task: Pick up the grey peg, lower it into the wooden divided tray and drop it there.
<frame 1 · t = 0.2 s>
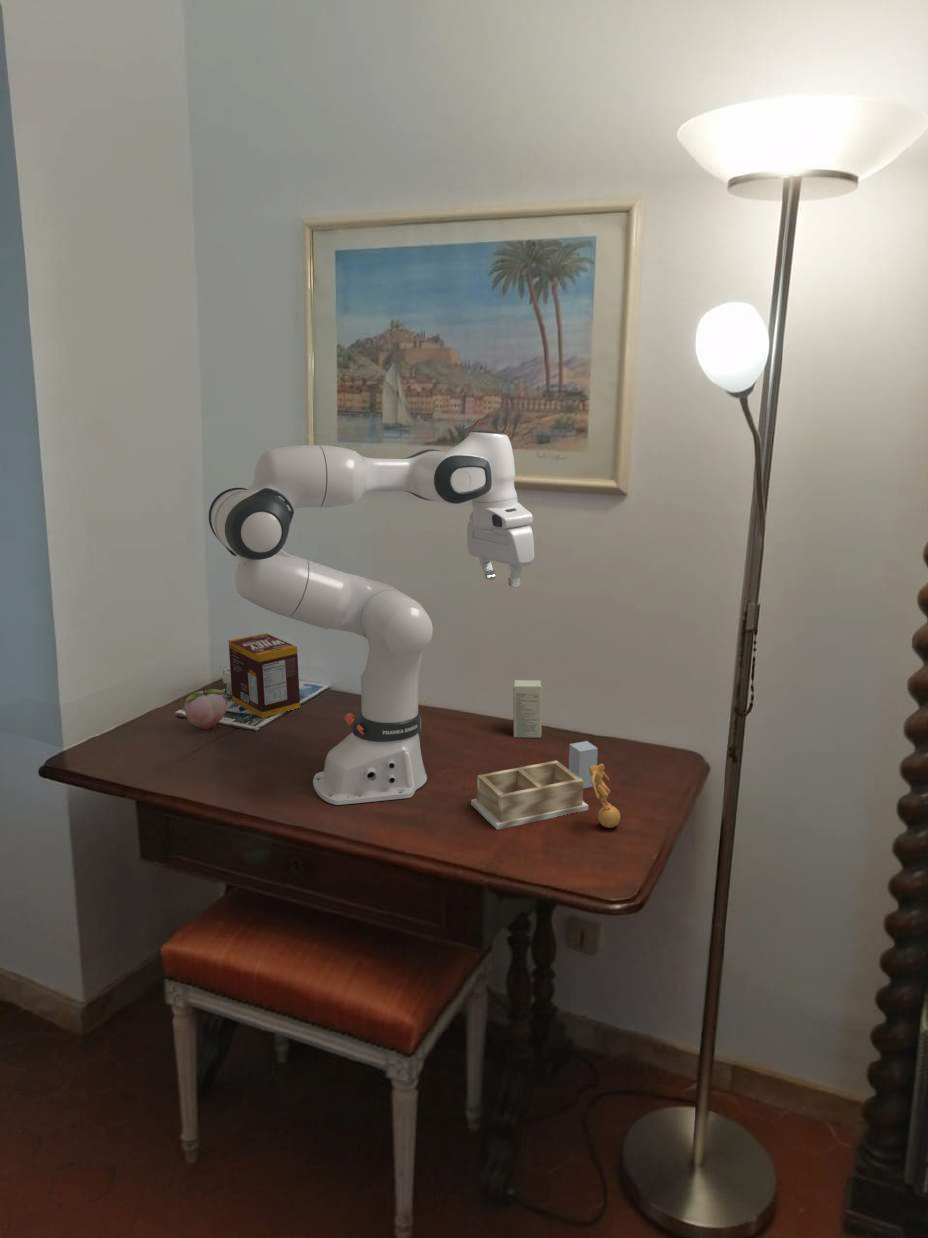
hand: (502, 582, 193), 38 cm above the table, tool pointing down, fingers open, 8 cm apart
figurine: (603, 826, 176), on the table
grey peg: (582, 783, 193), on the table
wooden divided tray: (529, 807, 183), on the table
decorative fruit: (205, 729, 220), on the table
supplement box: (265, 705, 235), on the table
skincare box: (527, 735, 218), on the table
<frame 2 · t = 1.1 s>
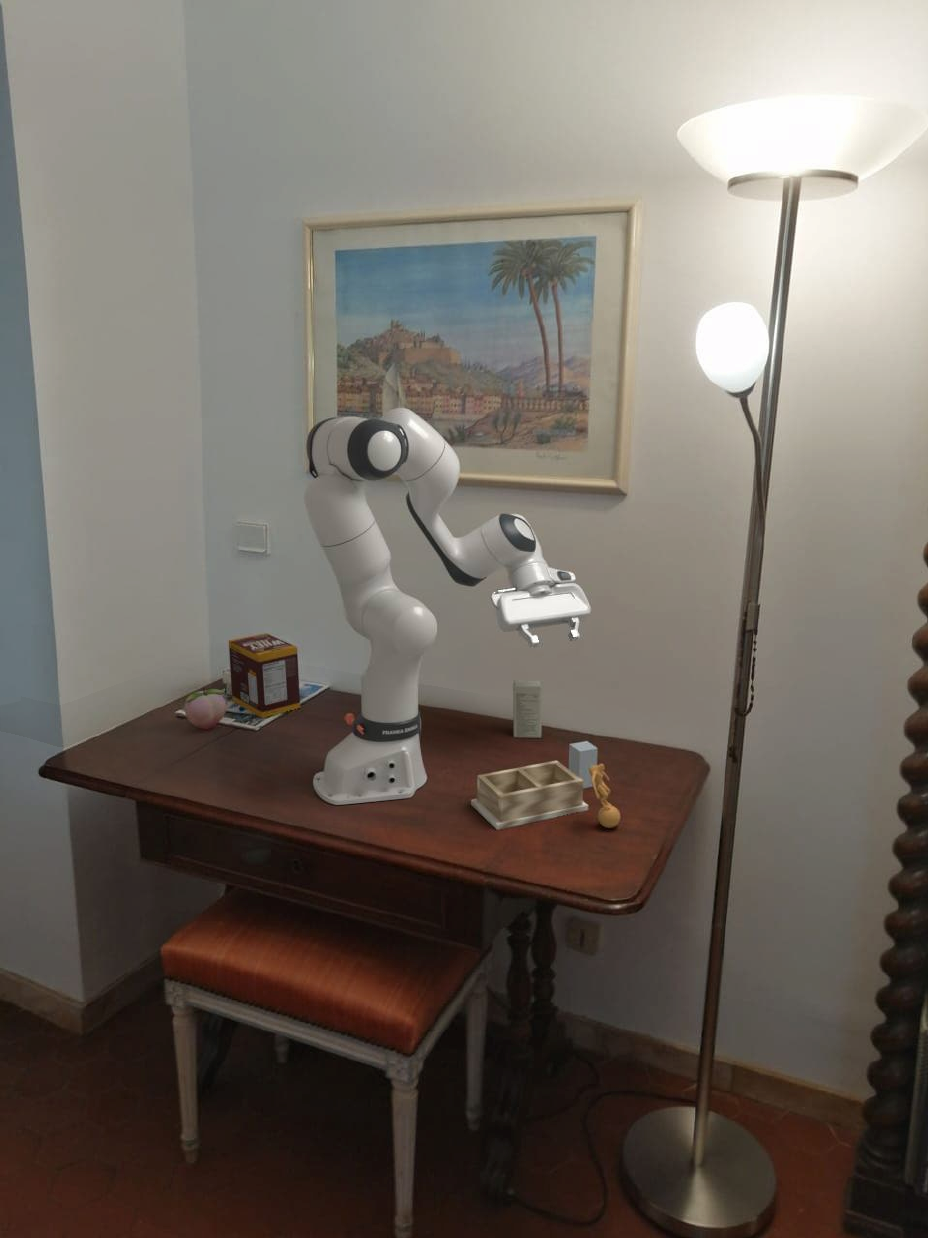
hand: (555, 642, 197), 26 cm above the table, tool tilted 45°, fingers open, 8 cm apart
nothing on the table moved.
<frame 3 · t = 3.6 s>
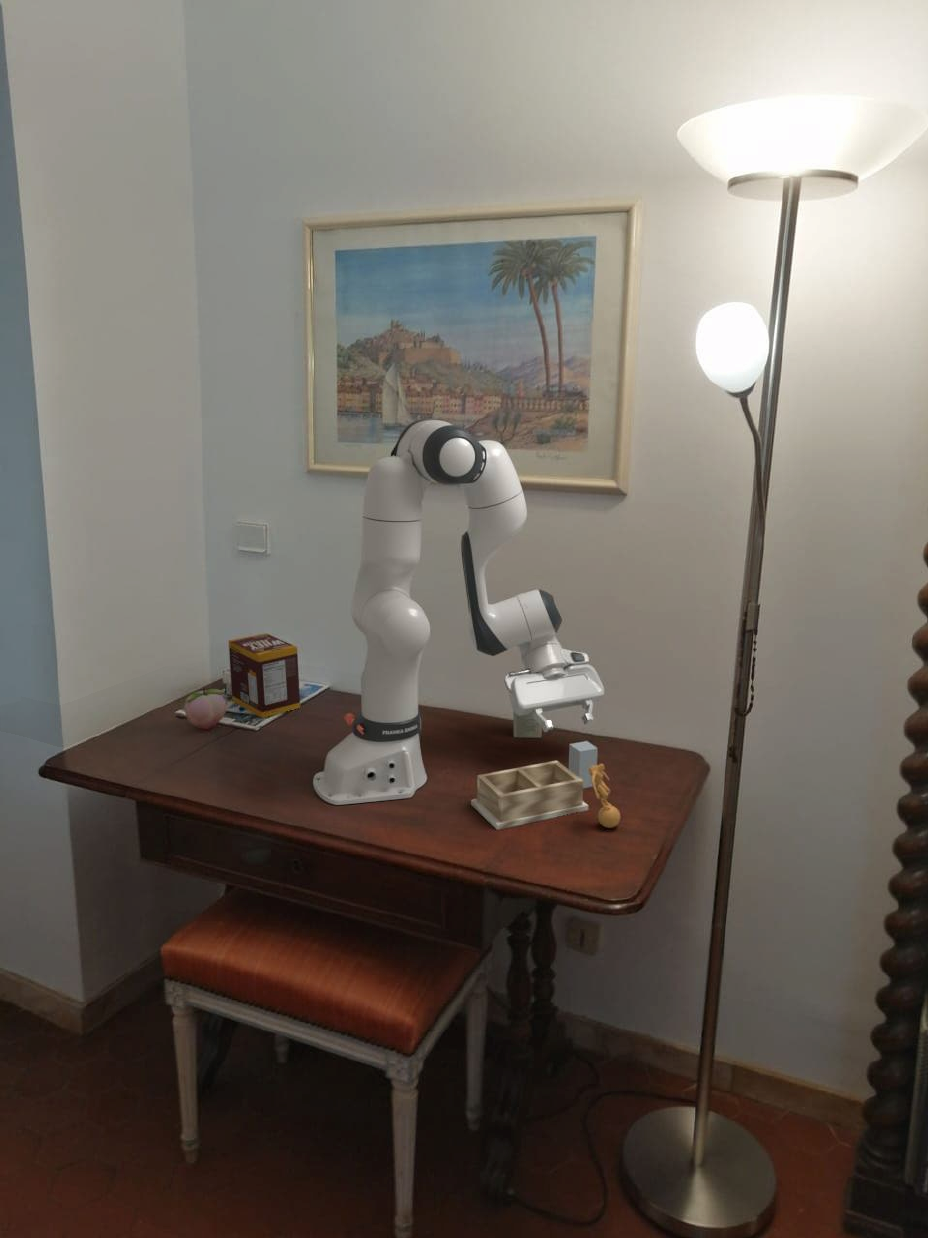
hand: (569, 726, 196), 10 cm above the table, tool tilted 45°, fingers open, 8 cm apart
nothing on the table moved.
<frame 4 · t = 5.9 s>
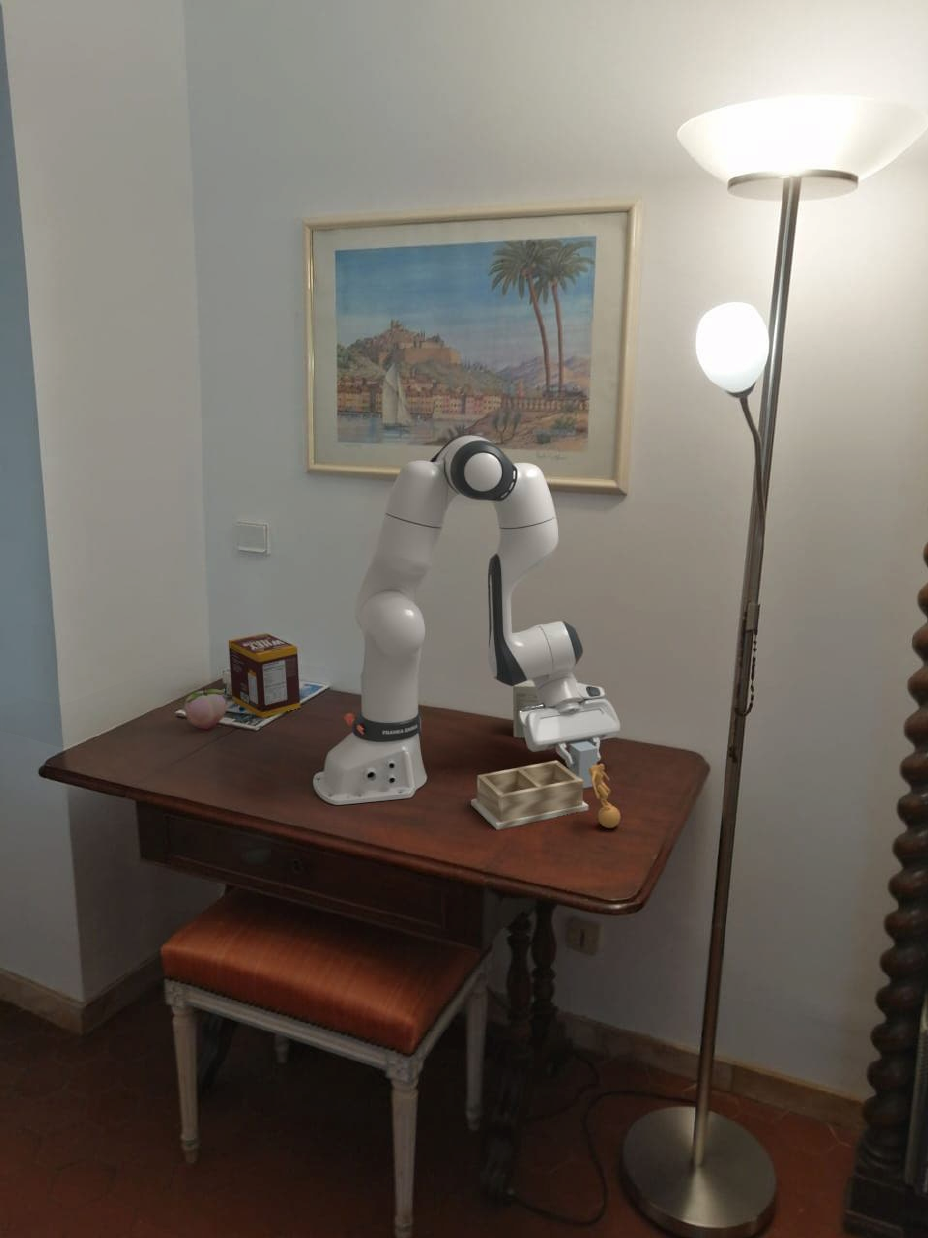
hand: (584, 763, 191), 5 cm above the table, tool tilted 45°, fingers closed on grey peg, 4 cm apart
grey peg: (582, 783, 193), on the table, touching gripper
everything else where it was.
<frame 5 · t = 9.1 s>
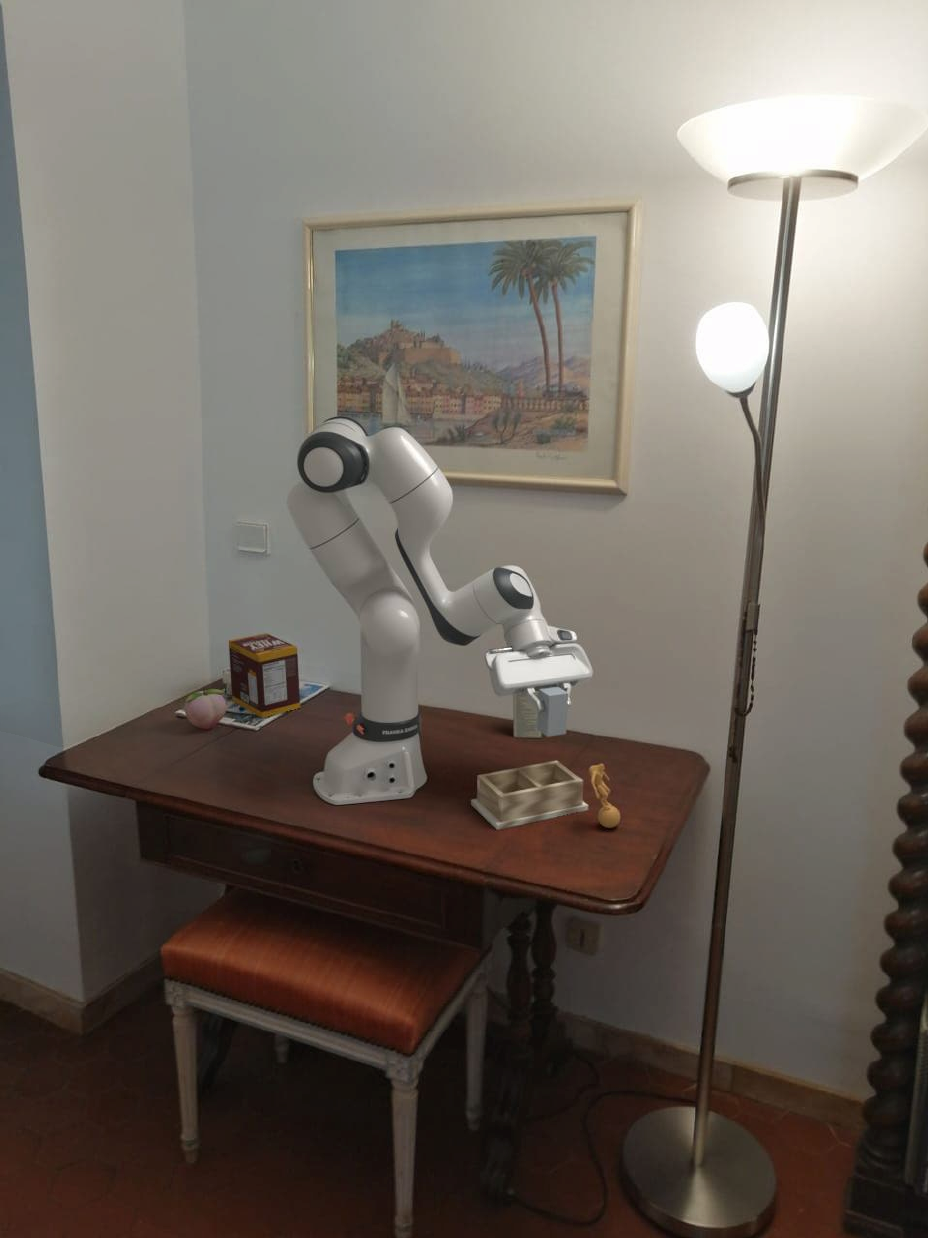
hand: (554, 709, 180), 19 cm above the table, tool tilted 45°, fingers closed on grey peg, 4 cm apart
grey peg: (551, 731, 182), point 14 cm above the table, touching gripper
everything else where it was.
when the fingers open (9 cm above the table, at t = 12.6 s): grey peg drops 3 cm, resting on wooden divided tray.
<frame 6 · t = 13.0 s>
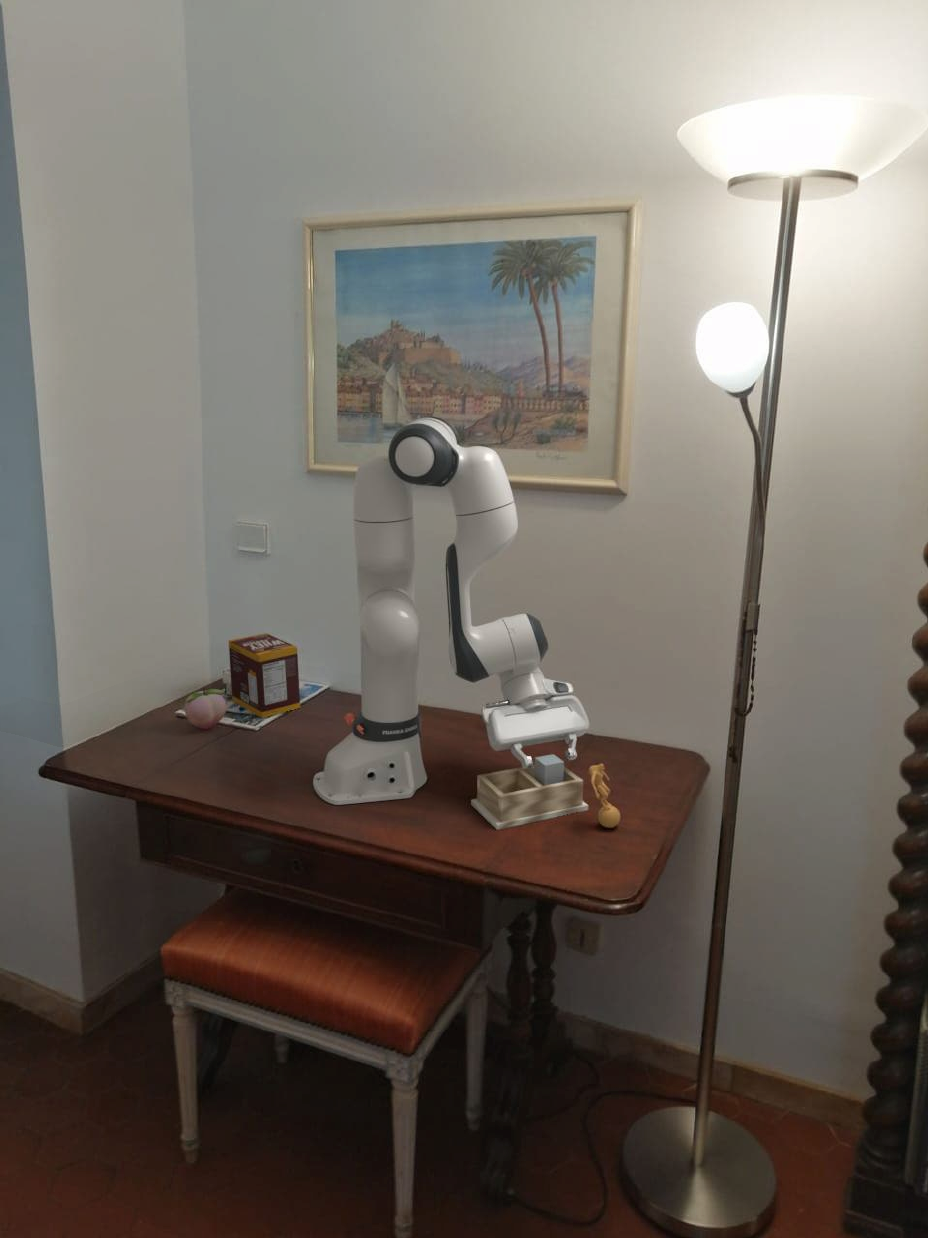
hand: (550, 763, 182), 9 cm above the table, tool tilted 45°, fingers open, 8 cm apart
grey peg: (548, 798, 184), point 1 cm above the table, touching wooden divided tray
everything else where it was.
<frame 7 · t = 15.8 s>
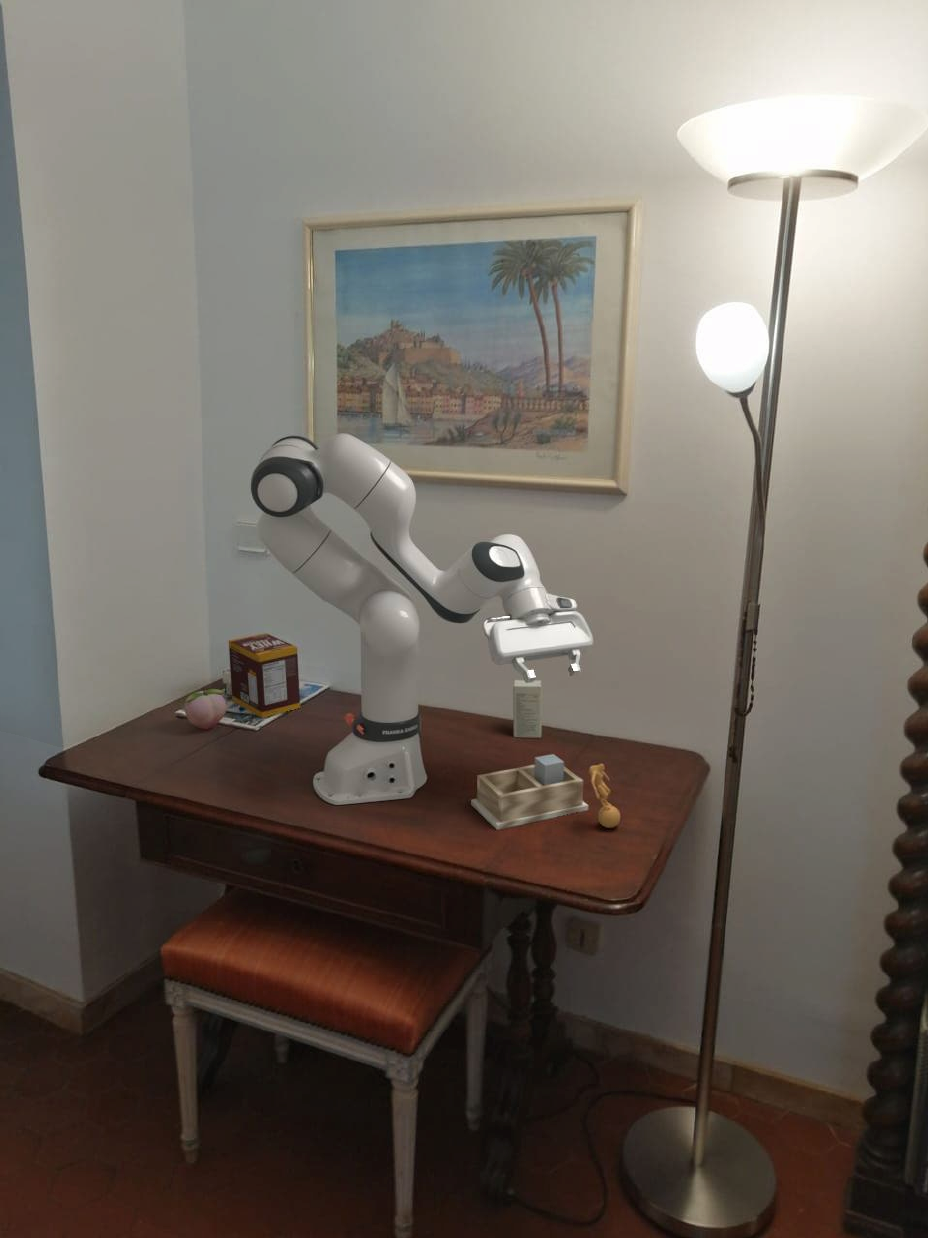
hand: (553, 677, 177), 25 cm above the table, tool tilted 45°, fingers open, 8 cm apart
nothing on the table moved.
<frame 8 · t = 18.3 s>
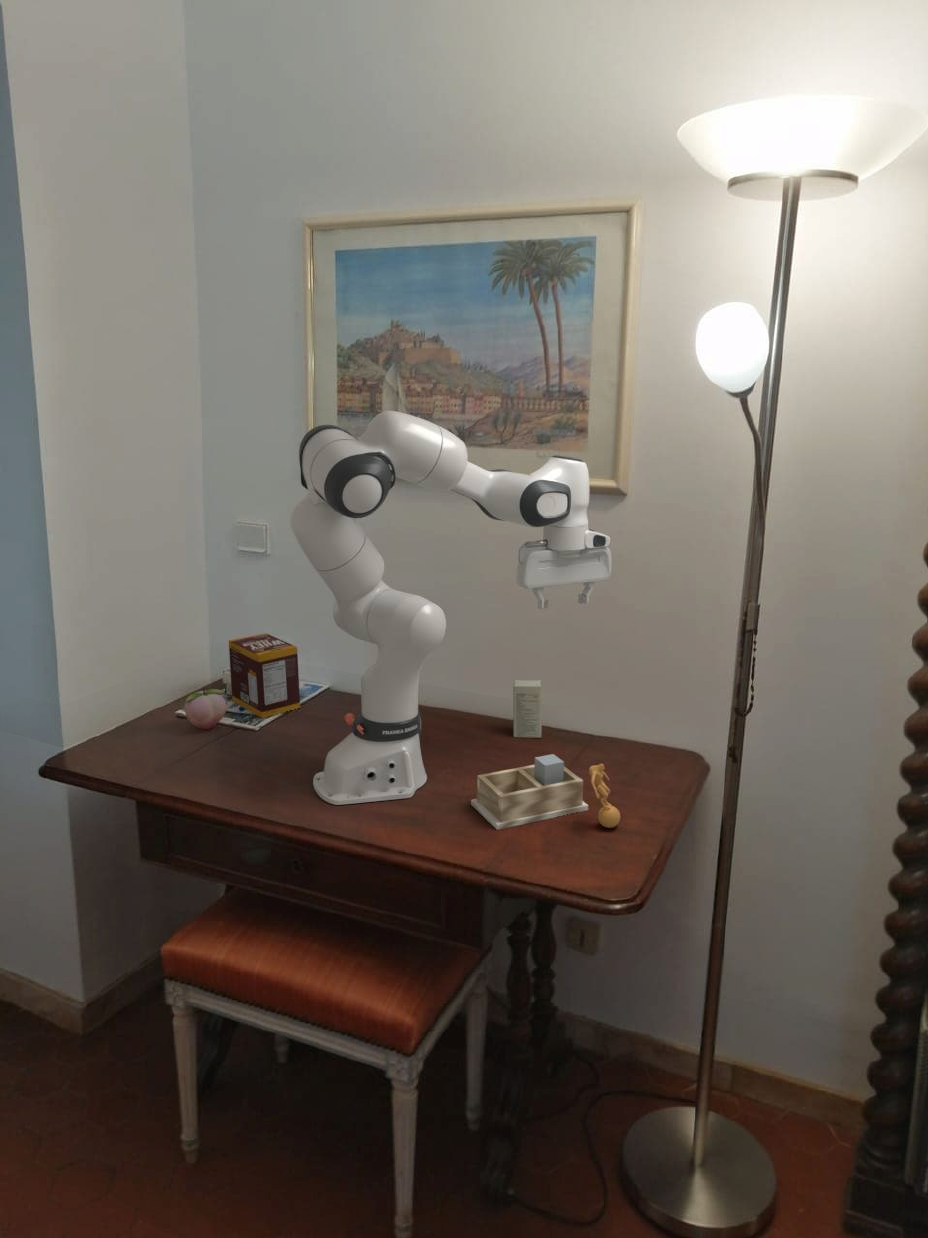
hand: (563, 605, 196), 33 cm above the table, tool pointing down, fingers open, 8 cm apart
nothing on the table moved.
at the end: grey peg 0.1 cm from the target spot on the wooden divided tray, point 1.0 cm above the wooden divided tray's base; grey peg tilted 0°; the gripper is holding nothing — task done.
